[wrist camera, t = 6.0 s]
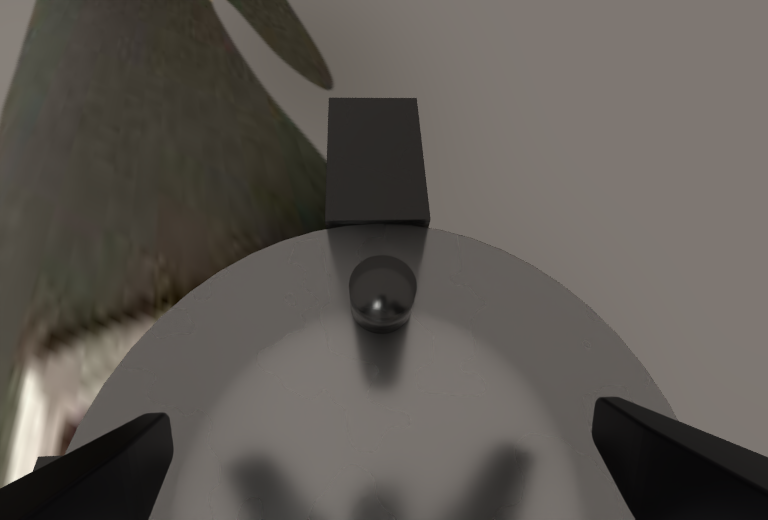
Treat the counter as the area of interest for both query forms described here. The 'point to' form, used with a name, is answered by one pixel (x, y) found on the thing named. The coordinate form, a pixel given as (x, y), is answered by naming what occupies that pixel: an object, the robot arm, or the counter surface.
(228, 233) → the counter surface
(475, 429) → the cooker lid
